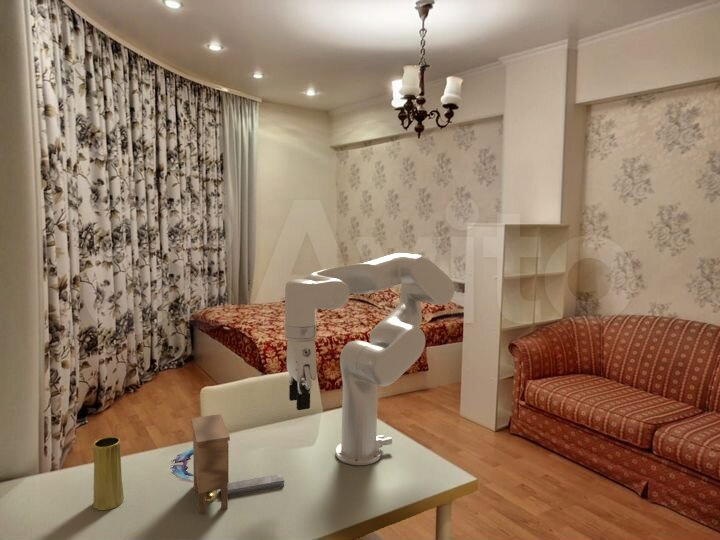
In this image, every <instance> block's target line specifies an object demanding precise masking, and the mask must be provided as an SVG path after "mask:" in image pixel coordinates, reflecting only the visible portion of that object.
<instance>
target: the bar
mask: <svg viewBox="0 0 720 540" xmlns="http://www.w3.org/2000/svg"><path fill="white" fill-rule="evenodd" d="M283 487H285V479H284V477H283V474H282V473H280V474H273V475H269V476H268V475H267V476H261V477H256V478H250V479H244V480H238V481H233V482H229V483H228V497H234V496H238V495H243V494H251V493H256V492H261V491H262V492H263V491H266V490H267V491H268V490H272V489H278V488H279V489H280V488H283ZM219 492H221V489H219Z"/></svg>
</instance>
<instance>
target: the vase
mask: <svg viewBox="0 0 720 540" xmlns="http://www.w3.org/2000/svg"><path fill="white" fill-rule="evenodd" d="M124 497H125V496H124V487H123V477H122V454H121V439H120V438H119V437H117V436H104V437H101V438H99V439H96V440H95V441H94V443H93V503H92V506H93V508H94V509H95V510H98V511H109V510H113V509H114V508H118V507H119V506H120V505H121V504H122V503H123V502H124V499H125V498H124Z"/></svg>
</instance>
